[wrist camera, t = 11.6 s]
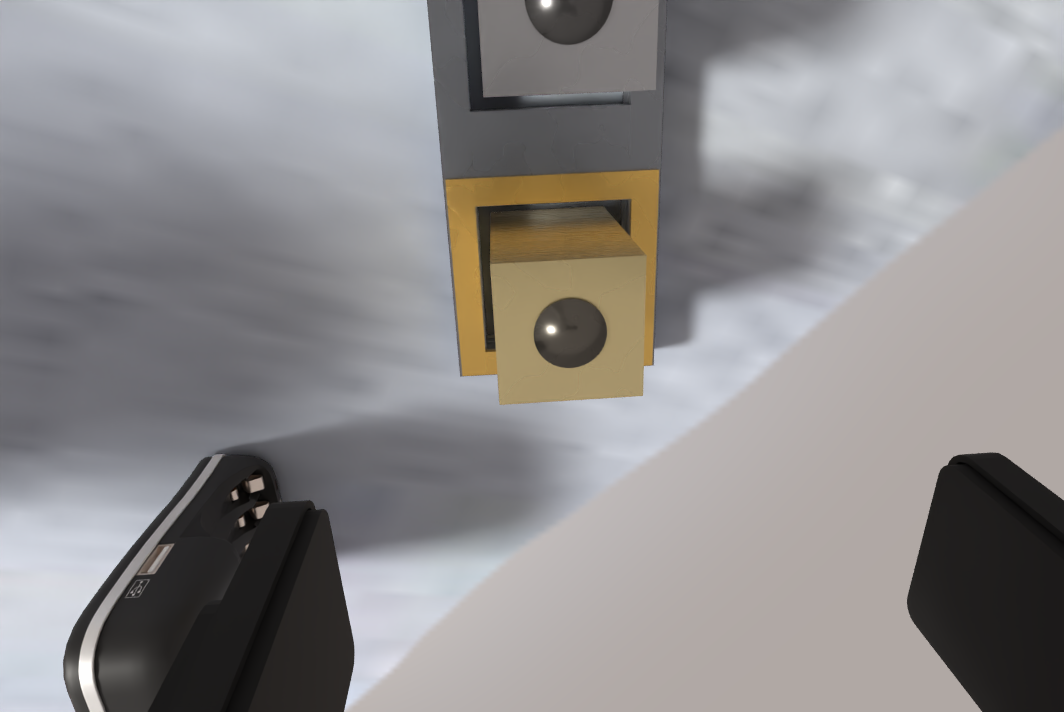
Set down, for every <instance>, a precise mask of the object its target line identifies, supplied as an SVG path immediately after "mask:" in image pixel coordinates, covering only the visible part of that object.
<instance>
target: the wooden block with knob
mask: <svg viewBox="0 0 1064 712" xmlns="http://www.w3.org/2000/svg"><path fill="white" fill-rule="evenodd" d="M646 258H647V255H646V254H645V253H644V252H643V251H642V250H641V249H640V247H639V246H638V245H637V244H636V243H635V242H634V241H633V239H632V238H631V237H630V236H629V235H628V234H627V233H626V231H625V230H624V229H623V228H622V227H621V226H620V225H619V223H618V222H617V221H616V220H615V219H614V218H613V217H612V215H611V214H610V213H609V212H608V211H607V210H606V209H605V207H604V206H594V207H575V208H556V209H537V210H518V211H499V212H491V224H490V272H491V286H492V301H493V315H494V330H495V344H496V359H497V373H498V388H499V402H500V405H505V404H521V403H537V402H553V401H568V400H584V399H600V398H616V397H632V396H643V372H644V334H645V296H646Z"/></svg>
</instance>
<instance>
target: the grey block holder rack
mask: <svg viewBox="0 0 1064 712" xmlns="http://www.w3.org/2000/svg"><path fill="white" fill-rule="evenodd" d="M427 6H428V17H429V29H430V40H431V51H432V62H433V74H434V85H435V96H436V107H437V119H438V130H439V141H440V152H441V164H442V175H443V186H444V197H445V209H446V220H447V231H448V242H449V254H450V265H451V276H452V287H453V299H454V310H455V321H456V332H457V344H458V355H459V366H460V376H477V375H495V374H498V373H497V359H496V344H495V334H494V335H487V329H486V315H485V300H484V286H483V272H482V257H481V243H480V229H479V214H478V207H483V206H503V205H524V204H545V203H565V202H586V201H606V200H621V227H622V228H623V229H624V230H625V231H626V233H627V234H628V235H629V236H630V237H631V238H632V239H633V241H634V242H635V243H636V244H637V245H638V246H639V247H640V249H641V250H642V251H643V252H644V253H645V254H646V255H647V258H646V296H645V334H644V366H650V365H654V338H655V311H656V284H657V257H658V230H659V203H660V176H661V149H662V121H663V94H664V67H665V40H666V13H667V0H659V6H658V37H657V68H656V90H645V91H623V104H600V105H577V106H554V107H531V108H507V109H484V110H471V99H470V85H469V71H468V56H467V42H466V28H465V13H464V0H427Z"/></svg>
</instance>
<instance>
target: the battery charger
mask: <svg viewBox="0 0 1064 712" xmlns="http://www.w3.org/2000/svg"><path fill="white" fill-rule="evenodd" d="M279 502H282V500H281V496H280V492H279V488H278V483H277V479H276V476H275V474H274V471H273V469H272V467H271V466H270V465H269V464H268V463H267V462H266V461H264V460H262V459H260V458H256V457H252V456H244V455H229V456H226V455H225V454H215V455H214V456H213V457H206V458H204V459H202V460H201V461H200V463H199V464H198V465H197V467H196V468H195V470H194V471H193V472H192V474H191V475H190V477H189V478H188V479H187V480H186V482H185V483H184V484H183V486H182V487H181V488H180V490H179V491H178V492H177V494H176V495H175V496H174V497H173V499H172V500H171V501H170V502H169V504H168V505H167V506H166V507H165V508H164V509H163V510H162V511H161V513H160V514H159V515H158V516H157V517H156V518H155V520H154V521H153V522H152V523H151V524H150V526H149V527H148V528H147V529H146V530H145V531H144V533H143V534H142V535H141V536H140V538H139V539H138V540H137V541H136V542H135V544H134V545H133V546H132V547H131V548H130V550H129V551H128V552H127V553H126V555H125V556H124V557H123V559H122V560H121V561H120V562H119V564H118V565H117V566H116V568H115V569H114V570H113V571H112V573H111V574H110V575H109V577H108V578H107V579H106V581H105V582H104V584H103V585H102V586H101V588H100V589H99V590H98V592H97V593H96V594H95V596H94V597H93V598H92V600H91V601H90V603H89V604H88V605H87V607H86V608H85V610H84V611H83V613H82V614H81V616H80V618H79V619H78V621H77V622H76V624H75V626H74V627H73V630H72V632H71V635H70V637H69V640H68V642H67V645H66V650H65V655H64V660H63V669H64V680H65V684H66V688H67V692H68V694H69V697H70V699H71V702H72V704H73V707H74V709H75V712H148V710H149V708H150V706H151V704H152V702H153V701H154V699H155V697H156V695H157V693H158V691H159V689H160V687H161V685H162V683H163V681H164V679H165V678H166V676H167V674H168V672H169V670H170V668H171V666H172V664H173V662H174V660H175V658H176V656H177V655H178V653H179V651H180V649H181V647H182V645H183V643H184V641H185V639H186V637H187V635H188V633H189V631H190V630H191V628H192V626H193V624H194V622H195V620H196V618H197V616H198V614H199V613H200V611H201V610H202V608H203V607H204V605H206V604H207V603H209V602H210V601H213V600H222V599H223V596H224V594H225V592H226V590H227V588H228V586H229V584H230V582H231V580H232V578H233V576H234V574H235V572H236V570H237V568H238V566H239V564H240V562H241V560H242V558H243V556H244V554H245V552H246V550H247V548H248V546H249V544H250V542H251V540H252V537H253V535H254V533H255V531H256V529H257V527H258V525H259V523H260V521H261V519H262V517H263V515H264V513H265V511H266V509H267V508H268V506H269V505H270V504H272V503H279Z"/></svg>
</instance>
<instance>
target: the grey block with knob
mask: <svg viewBox="0 0 1064 712" xmlns="http://www.w3.org/2000/svg"><path fill="white" fill-rule="evenodd" d="M477 1H478V17H479V33H480V49H481V65H482V81H483V97H503V96H527V95H551V94H574V93H598V92H621V91H645V90H656V68H657V37H658V6H659V0H477Z"/></svg>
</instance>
